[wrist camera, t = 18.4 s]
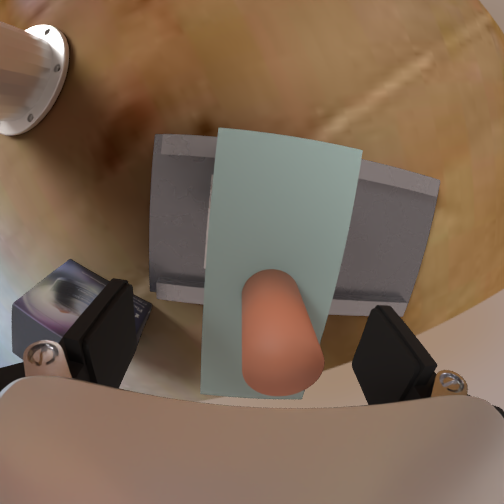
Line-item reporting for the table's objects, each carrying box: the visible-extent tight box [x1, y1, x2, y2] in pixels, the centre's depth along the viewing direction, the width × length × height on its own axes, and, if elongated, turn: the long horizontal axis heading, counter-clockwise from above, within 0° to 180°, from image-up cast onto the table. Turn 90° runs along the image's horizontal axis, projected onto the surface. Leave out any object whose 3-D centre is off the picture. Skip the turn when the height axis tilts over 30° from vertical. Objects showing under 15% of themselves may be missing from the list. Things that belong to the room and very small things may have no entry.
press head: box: [200, 128, 363, 399], centre depth 16 cm, size 6×14×15 cm, turn 173°
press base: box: [149, 134, 440, 317], centre depth 25 cm, size 26×14×3 cm, turn 83°
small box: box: [12, 259, 152, 359], centre depth 23 cm, size 11×6×10 cm, turn 62°
